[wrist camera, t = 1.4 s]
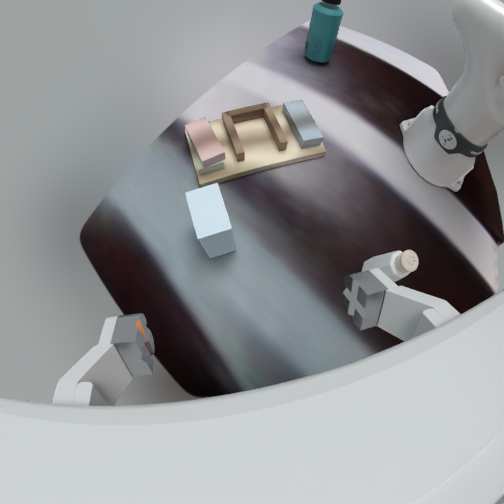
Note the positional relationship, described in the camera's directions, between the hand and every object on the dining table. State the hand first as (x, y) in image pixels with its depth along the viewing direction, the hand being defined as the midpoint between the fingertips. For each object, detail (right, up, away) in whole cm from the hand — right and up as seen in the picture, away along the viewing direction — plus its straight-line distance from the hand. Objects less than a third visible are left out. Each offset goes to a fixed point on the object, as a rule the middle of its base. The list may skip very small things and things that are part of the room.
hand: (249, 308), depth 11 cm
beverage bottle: (+15, +47, +42) cm, 65 cm away
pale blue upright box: (-5, +5, +32) cm, 32 cm away
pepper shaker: (+20, -1, +31) cm, 37 cm away
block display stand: (0, +21, +35) cm, 41 cm away
